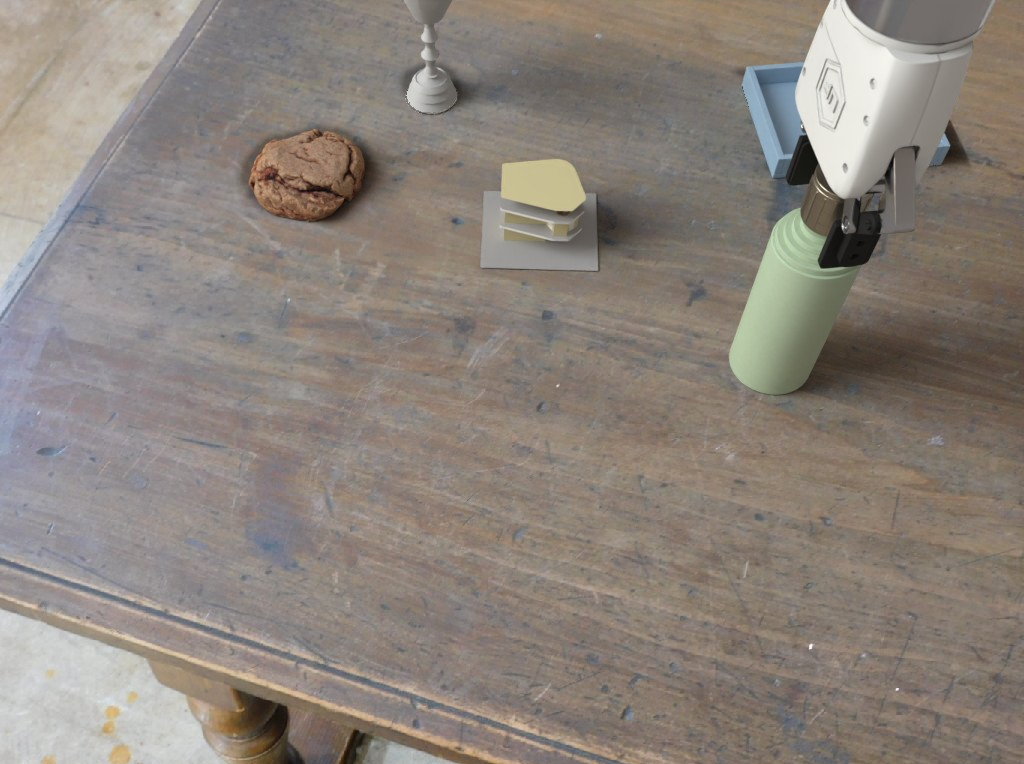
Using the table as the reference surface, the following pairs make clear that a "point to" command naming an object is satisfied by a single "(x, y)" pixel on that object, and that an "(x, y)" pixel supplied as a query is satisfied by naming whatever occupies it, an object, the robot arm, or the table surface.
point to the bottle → (788, 310)
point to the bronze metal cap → (824, 204)
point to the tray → (785, 114)
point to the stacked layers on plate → (539, 219)
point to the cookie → (307, 175)
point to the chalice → (430, 61)
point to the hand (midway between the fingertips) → (824, 219)
